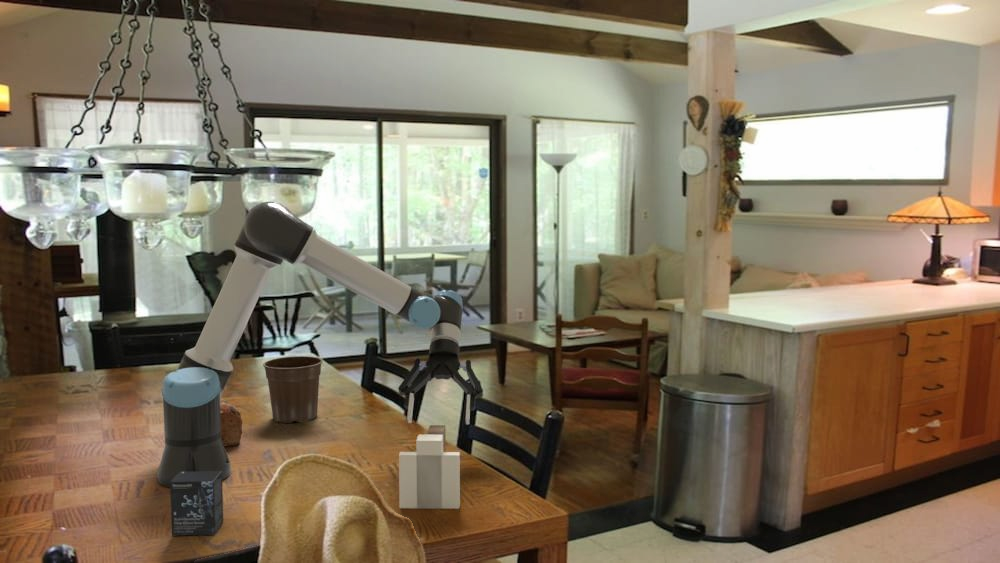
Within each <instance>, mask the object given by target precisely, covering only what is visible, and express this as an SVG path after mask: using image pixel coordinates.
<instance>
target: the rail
mask: <svg viewBox="0 0 1000 563" xmlns="http://www.w3.org/2000/svg"><path fill="white" fill-rule="evenodd" d="M426 434H435V435H443V452H447V451H446V425H445V424H444V425H438V424H437V425H433V424H431V425H429V426H428V429H427V432H426Z"/></svg>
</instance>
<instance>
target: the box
mask: <svg viewBox="0 0 1000 563" xmlns="http://www.w3.org/2000/svg"><path fill="white" fill-rule="evenodd" d="M169 488H170V489H169V490H170V508H171V510H170V517H171V518H170V519H171V536H172V537H175V536H176V537H177V536H215V535H216V534H217V533H218V531H219V530H220V528H221V527H222V526H223V524H224V508H223V507H224V501H223V500H224V498H223V497H224V495H223V493H224V492H223V480H222V471H192V472H185V471H180V472H179V473H178V474H177V475H176V476H175V477H174V478H173V479H172V481H171V482H170V487H169Z"/></svg>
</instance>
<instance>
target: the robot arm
mask: <svg viewBox="0 0 1000 563" xmlns="http://www.w3.org/2000/svg"><path fill="white" fill-rule="evenodd" d="M244 219H245V220H244V223H243V225H242V227H241V229H240V232H239V234H238V236H237V238H236V240H235V243H234V245H233V247H234V250H235V253H236V257H235V259H234V261H233V264H232V265H231V267H230V270H229V272H228V274H227V276H226V279H225V281H224V283H223V285H222V287H221V289H220V291H219V294H218V296H217V298H216V301H215V302H214V305H213V307H212V309H211V311H210V314H209V315H208V318H207V320H206V322H205V324H204V326H203V329H202V331H201V333H200V335H199V337H198V340H197V341H196V344H195V346H194V347H191V348H190V349H187V350H185V352H184V354H183V357H182V358H181V360H180V363H179V365H178V366H177V369H176V370H174V371H171V372H169V373H168V374H167V375H165V377H164V378H163V380H162V387H161V396H162V401H163V402H162V406H163V407H162V408H163V426H164V427H163V428H164V448H163V452H162V455H161V458H160V462H159V466H158V468H157V481H158V484H159V485H161V486H163V487H166V488H170V482H171V481H172V479H173V478H174V477H175V476H176V475H177V474H178V473H179V472H180V471H185V472H192V471H222V481H223V480H225V479H226V478H228V477H229V476H230V475H231V471H232V470H231V468H232V467H231V461H230V458H229V456H228V453H227V451H226V448H225V446H224V445H223V443H222V440H221V418H220V402H221V398H222V396H223V393H224V390H225V388H226V386H227V385H228V382H229V379H230V378H231V375H232V373H233V370H234V367H233V364H232V362H231V359H232V357H233V356H234V353H235V350H236V349H237V347H238V343H239V342H240V340H241V338H242V336H243V333H244V332H245V329H246V326H247V324H248V323H249V320H250V318H251V315H252V313H253V312H254V309H255V307H256V304H257V302H258V300H259V298H260V296H261V294H262V291H263V290H264V287H265V285H266V282H267V281H268V278H269V276H270V273H271V272H272V270H274V269H276V268H278V267H281V265H282V263H283V261H285V262H288V263H290V264H292V265H293V266H294V265H298V264H300V265H302V266H305V267H306V268H308V269H311V271H314V272H315V273H318V274H320V275H321V276H324V277H325V278H327V279H329V280H331V281H333V282H335V283H336V284H338V285H340V286H341V287H343V288H345V289H348V290H349V291H351V292H352V293H355V294H357V295H359V296H360V297H362V298H363V299H366V300H367V301H370V302H371V303H374V304H376V305H377V306H379V307H380V308H383V309H385V310H386V311H387V312H389V313H391V314H393V315H396V316H397V317H399V318H401V319H403V320H404V321H407V322H408V323H411V325H412V326H414V327H415V328H417V329H418V328H419V329H422V330H423V329H424V330H425V329H430V328H431V330H430V340H429V343H430V344H429V350H428V351H429V352H428V357H427V358H428V359H427V360H426V361H424V360H421V359H420V358H418V357H417V358H415V360H414V364H413V366H412V367H411V370H409V372H408V373H407V375H406V377H405V378H404V379H403V380H402V382H401V383H400V385H399V386H398V387H397V388H398V389H397V390H398V394H399V396H404V401H403V402H404V403H403V404H404V409H405V410H407V417H406V418H407V423H408V424H412V423H413V422H412V421H413V411H414V405H415V404H414V402H415V395H416V393H417V392H418V391H420V390H421V389H422V388H423V387H424V386H425V385H427V384H428V382H431V381H432V380H433V379H435V380H442V379H443V380H450V379H452V381H453V382H455V383H456V384H457V385H458V386H459V387H460V389H462V390H463V391H464V393H465V394H466V406H465V408H466V409H465V425H470V419H471V418H470V416H471V411H475V409H476V399H479V398H480V399H482V398H483V397H484V391H483V390H484V389H483V387H482V385H481V383H480V381H479V380H478V377H477V376H476V374H475V372H474V370H473V368H472V361H471V360H470V359H466V361H465V362H460V346H461V332H462V330H461V328H462V320H463V314H464V313H463V312H464V308H463V306H464V305H463V298H462V296H461V295H460V294H459V293H458V292H456V291H454V290H451V289H450V290H445V289H443V290H440V291H438V292H437V293H436V294H435V295H434V294H430V293H428V292H424V291H421V290H419V289H416V288H413V287H412V286H410V285H408V284H406V283H404V282H403V281H401V280H399V279H398V278H396V277H394V276H392V275H390V274H388V273H387V272H385V271H383V270H381V269H380V268H378V267H376V266H374V265H373V264H370V263H369V262H367V261H365V260H364V259H361V258H360V257H358V256H357V255H354V254H353V253H351V252H349V251H348V250H346V249H344V248H342V247H340V246H339V245H337V244H335V243H333V242H331V241H330V240H327V239H326V238H324V237H323V236H321V235H319V234H317V232H316V228H315V226H312V225H309V224H308V223H306V222H305V221H303V220H302V219H301V218H300V217H298V216H296V215H295V213H293V212H292V211H291V210H290V209H289V208H288V207H287V206H284V205H283V204H282V203H278V202H275V201H263V202H261V203H257V204H256V205H255V206H253V207H252V208H250V210H249V211H248V213H247V215H246V216H245V218H244ZM424 368H426V370H425V371H424V373H423V374H422V375H421V376H419V374H420V372H421V371H423V369H424ZM460 369H462V370H463V371H464V372H465V373H466V375H467V378H468V379H469V381H470V383H471V385H472V386H473V388H472V386H471V385H470V384H469V382H467V381H466V380H465V379H464V377H463V376H462V375H461V374H460V373H459V370H460ZM418 376H419V378H417V377H418ZM416 378H417V379H416Z"/></svg>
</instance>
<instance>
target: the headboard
mask: <svg viewBox="0 0 1000 563" xmlns="http://www.w3.org/2000/svg"><path fill="white" fill-rule="evenodd" d="M415 442H416V447H415V448H416V450H415V451H399V453H398V472H399V473H398V480H399V481H398V490H399V491H398V492H399V494H398V497H399V504H398V505H399V509H444V510H445V509H449V510H450V509H460V506H461V495H460V494H461V489H460V488H461V479H460V478H461V476H460V475H461V472H460V471H461V469H460V468H461V464H460V463H461V461H460V460H461V458H460V456H461V452H460V451H446V452H443V435H435V434H427V433H426V434H422V433H420V434H418V435H417V437H416V441H415Z"/></svg>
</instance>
